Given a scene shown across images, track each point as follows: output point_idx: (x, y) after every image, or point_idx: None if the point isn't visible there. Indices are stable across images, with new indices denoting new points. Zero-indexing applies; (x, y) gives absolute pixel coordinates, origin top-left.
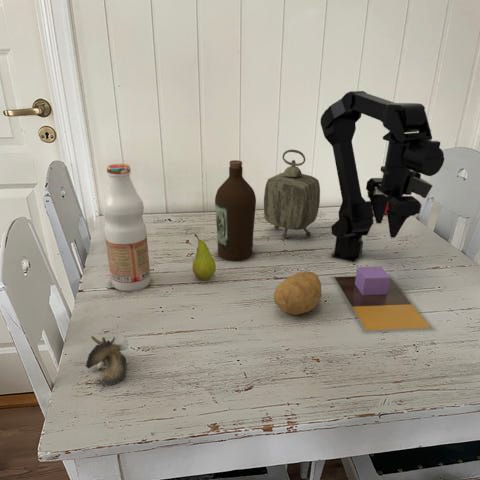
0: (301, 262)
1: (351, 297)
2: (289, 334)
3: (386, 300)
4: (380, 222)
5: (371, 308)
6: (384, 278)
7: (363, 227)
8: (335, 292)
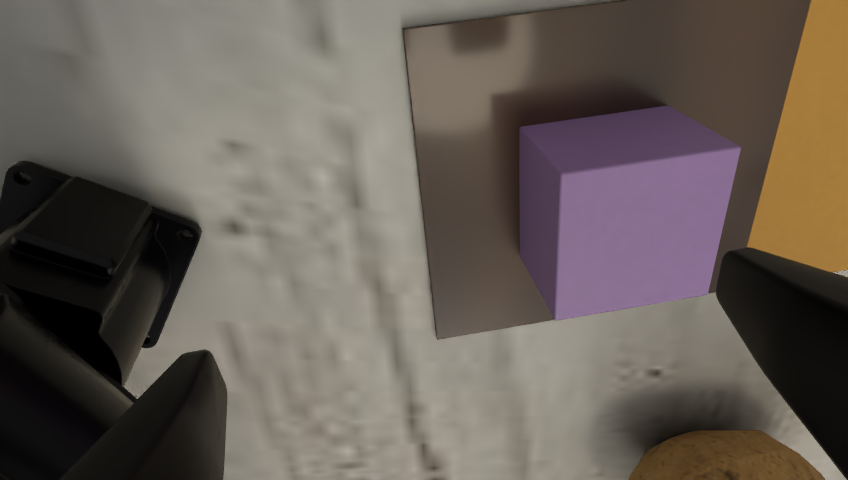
0: (263, 458)
1: None
2: (822, 456)
3: (730, 123)
4: (212, 363)
5: (778, 212)
6: (730, 182)
7: (93, 394)
8: (587, 337)
